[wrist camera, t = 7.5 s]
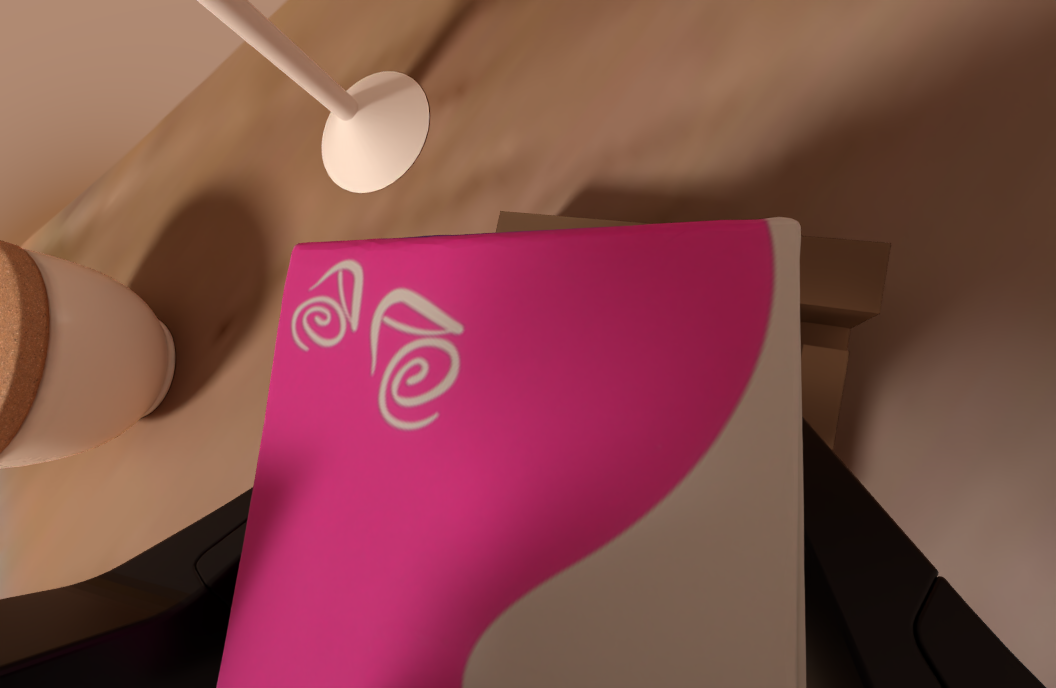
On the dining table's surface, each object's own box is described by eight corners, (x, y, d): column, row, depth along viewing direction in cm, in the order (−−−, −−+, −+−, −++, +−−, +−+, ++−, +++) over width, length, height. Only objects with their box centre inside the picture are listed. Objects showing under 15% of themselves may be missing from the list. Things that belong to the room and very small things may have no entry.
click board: (759, 817, 15) (777, 930, 12) (440, 663, 19) (388, 715, 16) (850, 276, 16) (891, 243, 13) (531, 242, 20) (500, 210, 17)
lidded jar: (213, 434, 25) (-43, 447, 16) (85, 477, 28) (-191, 508, 19) (196, 254, 27) (-37, 181, 19) (79, 311, 30) (-169, 272, 22)
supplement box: (729, 360, 14) (840, 198, 4) (722, 562, 14) (836, 1114, 3) (548, 352, 16) (272, 229, 6) (534, 528, 16) (184, 779, 5)
